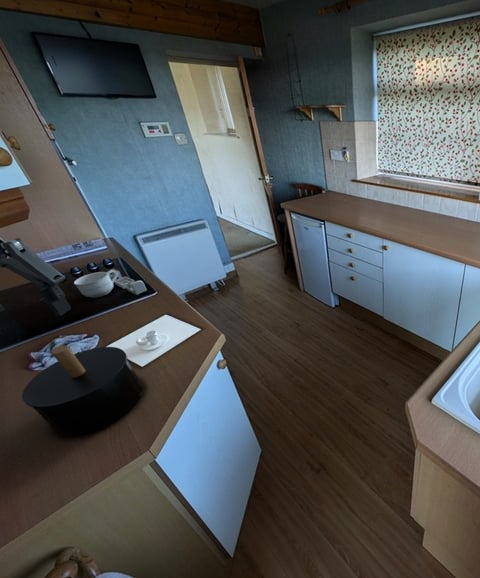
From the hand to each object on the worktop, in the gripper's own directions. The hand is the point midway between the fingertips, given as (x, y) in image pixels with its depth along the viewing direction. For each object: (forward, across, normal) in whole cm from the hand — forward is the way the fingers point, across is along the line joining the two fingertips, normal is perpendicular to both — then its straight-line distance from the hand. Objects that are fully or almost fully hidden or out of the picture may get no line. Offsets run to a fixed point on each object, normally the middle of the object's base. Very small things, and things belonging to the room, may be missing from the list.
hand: (30, 312), depth 62 cm
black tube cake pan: (+31, 0, 0) cm, 31 cm away
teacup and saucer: (+31, +2, -27) cm, 41 cm away
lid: (+19, 0, 0) cm, 19 cm away
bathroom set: (+31, +36, -64) cm, 79 cm away
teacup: (+31, +41, -58) cm, 77 cm away
